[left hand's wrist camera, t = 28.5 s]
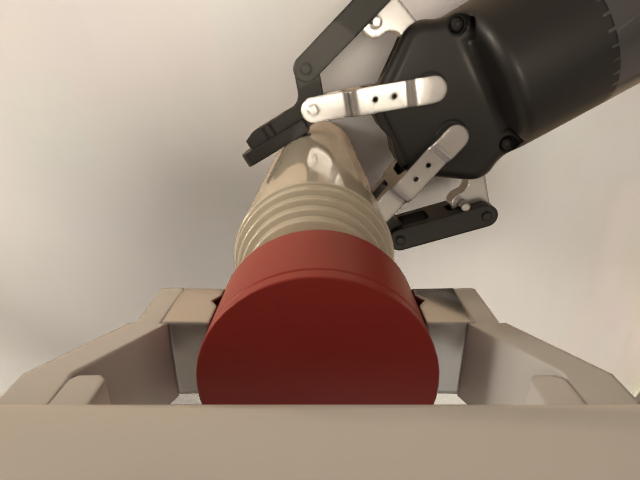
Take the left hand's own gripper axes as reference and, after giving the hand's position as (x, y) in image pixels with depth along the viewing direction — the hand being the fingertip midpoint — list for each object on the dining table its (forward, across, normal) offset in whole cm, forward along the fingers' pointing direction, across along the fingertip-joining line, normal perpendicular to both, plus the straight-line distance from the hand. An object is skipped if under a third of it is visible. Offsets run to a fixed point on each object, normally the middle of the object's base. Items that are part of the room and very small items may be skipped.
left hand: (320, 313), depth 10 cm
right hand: (+14, -2, -1) cm, 14 cm away
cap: (-2, 0, 0) cm, 2 cm away
